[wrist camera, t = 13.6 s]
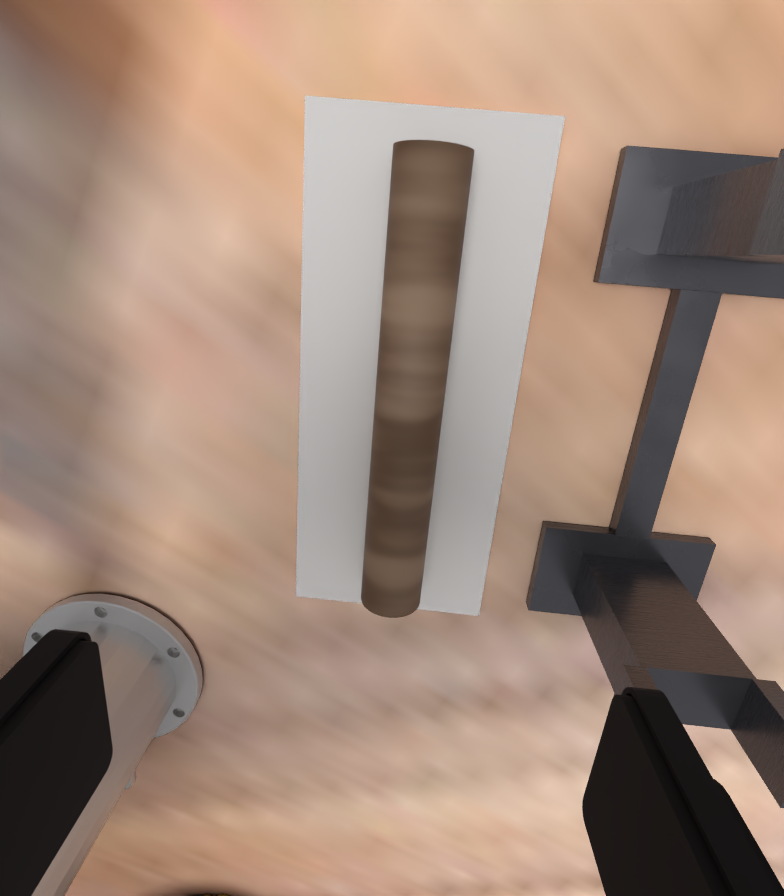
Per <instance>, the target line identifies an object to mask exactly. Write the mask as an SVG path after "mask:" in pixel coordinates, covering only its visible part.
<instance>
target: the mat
mask: <svg viewBox="0 0 784 896" xmlns="http://www.w3.org/2000/svg"><path fill="white" fill-rule="evenodd" d="M564 119H565V116H555V115H543V114H530V113H518V112H505V111H493V110H480V109H467V108H455V107H442V106H430V105H417V104H404V103H392V102H379V101H367V100H354V99H341V98H329V97H316V96H305V130H304V184H303V237H302V291H301V345H300V398H299V452H298V505H297V559H296V596H297V597H307V598H316V599H325V600H335V601H344V602H354V603H362V601H361V588H362V574H363V560H364V546H365V532H366V518H367V504H368V490H369V476H370V462H371V448H372V434H373V420H374V406H375V392H376V378H377V364H378V350H379V336H380V322H381V308H382V294H383V280H384V266H385V252H386V238H387V224H388V210H389V196H390V182H391V168H392V154H393V144H394V143H395V142H398V141H404V140H435V141H444V142H451V143H457V144H461V145H465V146H468V147H470V148H472V149H474V159H473V167H472V175H471V184H470V192H469V200H468V209H467V217H466V225H465V233H464V242H463V250H462V258H461V267H460V275H459V283H458V291H457V300H456V308H455V316H454V324H453V333H452V341H451V349H450V358H449V366H448V374H447V382H446V391H445V399H444V407H443V416H442V424H441V432H440V440H439V449H438V457H437V465H436V473H435V482H434V490H433V498H432V507H431V515H430V523H429V531H428V540H427V548H426V556H425V565H424V573H423V581H422V589H421V598H420V604H419V607H418V608H417V609H419V610H428V611H438V612H447V613H457V614H466V615H475V616H479V612H480V607H481V601H482V595H483V589H484V583H485V578H486V572H487V566H488V560H489V554H490V549H491V543H492V537H493V531H494V525H495V520H496V514H497V508H498V502H499V496H500V491H501V485H502V479H503V473H504V467H505V462H506V456H507V450H508V444H509V438H510V433H511V427H512V421H513V415H514V409H515V404H516V398H517V392H518V386H519V380H520V375H521V369H522V363H523V357H524V351H525V346H526V340H527V334H528V328H529V322H530V317H531V311H532V305H533V299H534V293H535V288H536V282H537V276H538V270H539V264H540V259H541V253H542V247H543V241H544V235H545V230H546V224H547V218H548V212H549V206H550V201H551V195H552V189H553V183H554V177H555V172H556V166H557V160H558V154H559V148H560V143H561V137H562V131H563V125H564Z"/></svg>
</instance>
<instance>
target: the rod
mask: <svg viewBox="0 0 784 896" xmlns="http://www.w3.org/2000/svg"><path fill="white" fill-rule="evenodd" d="M473 159H474V149H472V148H470V147H468V146H465V145H461V144H457V143H451V142H444V141H435V140H404V141H398V142H395V143H394V144H393V154H392V168H391V182H390V196H389V210H388V224H387V238H386V252H385V266H384V280H383V294H382V308H381V322H380V336H379V350H378V364H377V378H376V392H375V406H374V420H373V434H372V448H371V462H370V476H369V490H368V504H367V518H366V532H365V546H364V560H363V574H362V588H361V601H362V603H363V605H364V606H365V607H366V608H367V609H368V610H369V611H371V612H372V613H374V614H377V615H380V616H383V617H390V618H397V617H403V616H407V615H409V614H411V613H413V612H414V611H415V610H416V609H417V608H418V607H419V604H420V598H421V589H422V581H423V573H424V565H425V556H426V548H427V540H428V531H429V523H430V515H431V507H432V498H433V490H434V482H435V473H436V465H437V457H438V449H439V440H440V432H441V424H442V416H443V407H444V399H445V391H446V382H447V374H448V366H449V358H450V349H451V341H452V333H453V324H454V316H455V308H456V300H457V291H458V283H459V275H460V267H461V258H462V250H463V242H464V233H465V225H466V217H467V209H468V200H469V192H470V184H471V175H472V167H473Z"/></svg>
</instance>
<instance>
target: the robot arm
mask: <svg viewBox="0 0 784 896" xmlns="http://www.w3.org/2000/svg"><path fill="white" fill-rule="evenodd" d="M202 684H203V677H202V668H201V665H200V661H199V658H198V655H197V653H196V652H195V650H194V648H193V646H192V644H191V643H190V641H189V640H188V639H187V637H186V636H185V635H184V634H183V632H182V631H181V630H180V629H179V628H178V627H177V626H175V625H174V624H173V623H172V622H171V621H170V620H169V619H168V618H166V617H165V616H163V615H162V614H160V613H159V612H157V611H156V610H154V609H152V608H150V607H148V606H146V605H144V604H141V603H139V602H137V601H134V600H131V599H127V598H124V597H121V596H115V595H108V594H83V595H78V596H73V597H69V598H67V599H64V600H62V601H60V602H57V603H56V604H54V605H53V606H52V607H50V608H49V609H47V610H46V611H45V612H44V613H43V614H42V615H41V616H40V617H39V618H38V619H37V620H36V621H35V622H34V623H33V624H32V626H31V627H30V629H29V630H28V632H27V634H26V638H25V641H24V645H23V657H22V658H21V659H20V660H19V661H18V662H17V663H16V664H15V665H14V666H13V668H12V669H11V670H10V671H9V672H8V673H7V674H6V675H5V676H4V677H3V678H2V679H1V680H0V896H65V894H66V892H67V890H68V888H69V887H70V885H71V883H72V881H73V880H74V878H75V876H76V874H77V872H78V871H79V869H80V867H81V865H82V864H83V862H84V860H85V858H86V856H87V855H88V853H89V851H90V849H91V847H92V846H93V844H94V842H95V840H96V839H97V837H98V835H99V833H100V831H101V830H102V828H103V826H104V824H105V823H106V821H107V819H108V817H109V815H110V814H111V812H112V810H113V808H114V806H115V805H116V803H117V801H118V799H119V798H120V796H121V794H122V792H123V790H125V789H128V788H129V787H131V786H132V785H133V784H134V783H135V780H136V772H135V769H136V767H137V765H138V764H139V762H140V760H141V758H142V757H143V755H144V753H145V751H146V749H147V748H148V746H149V744H150V742H151V740H152V739H153V738H156V737H159V736H162V735H165V734H168V733H169V732H171V731H173V730H175V729H177V728H178V727H179V726H180V725H181V724H183V723H184V722H185V721H186V720H187V719H188V717H189V716H190V714H191V713H192V711H193V710H194V708H195V705H196V703H197V701H198V699H199V697H200V695H201V690H202ZM582 807H583V818H584V822H585V826H586V830H587V833H588V836H589V840H590V843H591V847H592V850H593V853H594V857H595V860H596V864H597V867H598V870H599V874H600V877H601V881H602V884H603V887H604V891H605V894H606V896H784V889H783V887H782V886H781V884H780V882H779V881H778V879H777V877H776V875H775V874H774V872H773V870H772V868H771V867H770V865H769V863H768V862H767V860H766V858H765V856H764V855H763V853H762V851H761V849H760V848H759V846H758V844H757V842H756V841H755V839H754V837H753V836H752V834H751V832H750V830H749V829H748V827H747V825H746V823H745V822H744V820H743V818H742V817H741V815H740V813H739V811H738V810H737V808H736V806H735V804H734V803H733V801H732V799H731V798H730V796H729V794H728V793H727V792H726V790H725V789H724V787H723V786H722V785H721V784H720V783H718V782H717V781H716V780H715V779H713V778H712V776H711V774H710V773H709V771H708V769H707V767H706V766H705V764H704V762H703V760H702V758H701V757H700V755H699V753H698V751H697V750H696V748H695V746H694V744H693V743H692V741H691V739H690V737H689V736H688V734H687V732H686V730H685V728H684V727H683V725H682V723H681V721H680V720H679V718H678V716H677V714H676V713H675V711H674V709H673V707H672V705H671V704H670V702H669V700H668V698H667V697H666V695H665V694H664V693H663V692H662V691H660V690H655V689H645V688H635V687H626V688H625V689H624V690H623V692H622V694H621V695H615V696H614V697H613V699H612V702H611V705H610V709H609V712H608V716H607V719H606V722H605V726H604V729H603V733H602V736H601V739H600V743H599V746H598V750H597V753H596V756H595V760H594V763H593V766H592V770H591V773H590V777H589V780H588V783H587V787H586V790H585V794H584V797H583V806H582Z"/></svg>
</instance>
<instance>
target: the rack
mask: <svg viewBox="0 0 784 896" xmlns="http://www.w3.org/2000/svg"><path fill="white" fill-rule="evenodd" d="M594 281H595V282H602V283H613V284H625V285H636V286H647V287H659V288H670V289H672V291H671V295H670V298H669V302H668V306H667V310H666V314H665V317H664V321H663V325H662V329H661V333H660V336H659V340H658V344H657V348H656V352H655V356H654V359H653V363H652V367H651V371H650V375H649V378H648V382H647V386H646V390H645V394H644V397H643V401H642V405H641V409H640V413H639V416H638V420H637V424H636V428H635V432H634V436H633V439H632V443H631V447H630V451H629V455H628V458H627V462H626V466H625V470H624V474H623V477H622V481H621V485H620V489H619V493H618V497H617V500H616V504H615V508H614V512H613V516H612V519H611V523H610V527H609V528H607V527H597V526H587V525H577V524H567V523H557V522H547V521H543V525H542V530H541V534H540V539H539V544H538V549H537V553H536V558H535V563H534V568H533V572H532V577H531V582H530V587H529V592H528V596H527V601H526V603H527V607H528V610H532V611H541V612H551V613H560V614H569V615H579V616H582V618H583V620H584V622H585V625H586V627H587V629H588V632H589V634H590V636H591V639H592V641H593V643H594V646H595V648H596V650H597V653H598V655H599V657H600V660H601V662H602V665H603V667H604V669H605V672H606V674H607V676H608V679H609V681H610V683H611V686H612V688H613V690H614V696H615V695H621V694H622V692H623V690H624V689H625V688H626V687H635V688H645V689H655V690H660V691H662V692H663V693H664V694H665V695H666V697H667V698H668V700H669V702H670V704H671V705H672V707H673V709H674V711H675V713H676V714H677V716H678V718H679V720H680V721H681V723H682V724H686V725H695V726H704V727H713V728H722V729H731V731H732V732H733V734H734V735H735V737H736V738H737V740H738V742H739V743H740V745H741V746H742V748H743V750H744V751H745V753H746V754H747V756H748V757H749V759H750V761H751V762H752V764H753V765H754V767H755V768H756V770H757V772H758V773H759V775H760V776H761V778H762V779H763V781H764V783H765V784H766V786H767V787H768V789H769V790H770V792H771V794H772V795H773V797H774V798H775V800H776V801H777V803H778V805H779V806H780V808H784V691H783V690H782V689H781V688H780V686H779V685H778V684H777V683H776V681H768V680H758V679H756V678H755V676H754V675H753V674H752V672H751V671H750V670H749V669H748V667H747V666H746V665H745V663H744V662H743V661H742V659H741V658H740V657H739V656H738V654H737V653H736V652H735V650H734V649H733V648H732V646H731V645H730V644H729V643H728V641H727V640H726V639H725V637H724V636H723V635H722V633H721V632H720V631H719V630H718V628H717V627H716V626H715V624H714V623H713V622H712V621H711V619H710V618H709V617H708V615H707V614H706V613H705V611H704V610H703V609H702V608H701V606H700V605H699V604H698V602H697V598H698V595H699V592H700V589H701V586H702V584H703V581H704V578H705V575H706V572H707V569H708V566H709V564H710V561H711V558H712V555H713V552H714V549H715V547H716V544H715V543H714V542H713V541H712V540H711V539H710V538H705V537H695V536H686V535H676V534H666V533H656V532H651V531H652V528H653V525H654V521H655V518H656V515H657V511H658V508H659V504H660V501H661V498H662V494H663V491H664V488H665V484H666V481H667V477H668V474H669V471H670V467H671V464H672V460H673V457H674V454H675V450H676V447H677V444H678V440H679V437H680V433H681V430H682V427H683V423H684V420H685V417H686V413H687V410H688V406H689V403H690V400H691V396H692V393H693V390H694V386H695V383H696V379H697V376H698V373H699V369H700V366H701V363H702V359H703V356H704V352H705V349H706V346H707V342H708V339H709V336H710V332H711V329H712V325H713V322H714V319H715V315H716V312H717V309H718V305H719V302H720V298H721V295H722V293H727V294H738V295H749V296H761V297H772V298H783V299H784V149H781V151H780V154H779V157H778V158H774V157H762V156H749V155H737V154H725V153H712V152H700V151H687V150H675V149H663V148H650V147H638V146H626V147H624V148H622V149H621V153H620V158H619V162H618V167H617V172H616V177H615V182H614V186H613V191H612V196H611V201H610V205H609V210H608V215H607V220H606V224H605V229H604V234H603V239H602V244H601V248H600V253H599V258H598V263H597V267H596V272H595V277H594Z"/></svg>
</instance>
